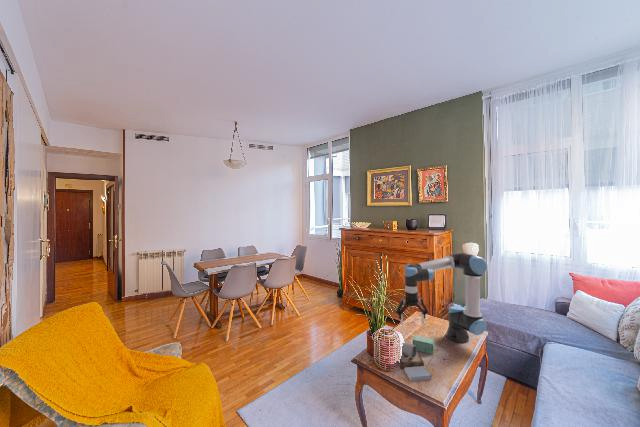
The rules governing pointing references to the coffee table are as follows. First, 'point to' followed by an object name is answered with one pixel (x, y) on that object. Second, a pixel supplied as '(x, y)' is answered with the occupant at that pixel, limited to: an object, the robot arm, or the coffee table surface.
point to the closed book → (417, 373)
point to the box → (424, 344)
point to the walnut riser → (411, 361)
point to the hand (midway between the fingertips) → (412, 323)
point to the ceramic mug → (409, 351)
